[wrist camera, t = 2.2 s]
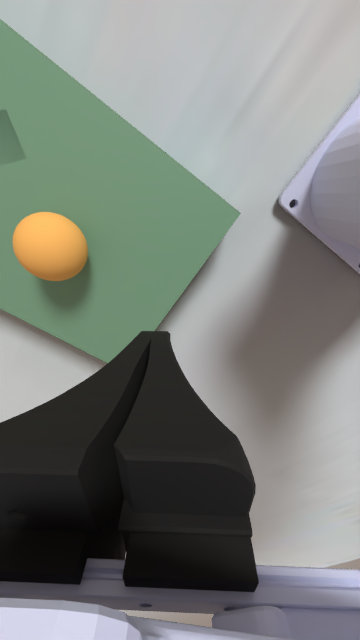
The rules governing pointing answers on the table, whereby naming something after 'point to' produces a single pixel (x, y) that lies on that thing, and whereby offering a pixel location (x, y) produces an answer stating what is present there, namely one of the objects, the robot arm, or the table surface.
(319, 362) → the table surface
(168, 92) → the table surface
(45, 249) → the ball
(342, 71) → the table surface
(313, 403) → the table surface
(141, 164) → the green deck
